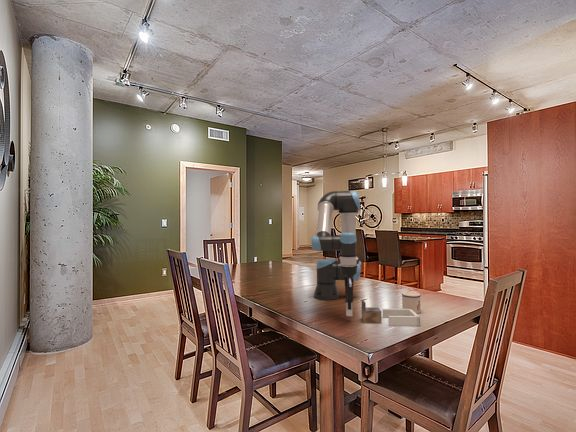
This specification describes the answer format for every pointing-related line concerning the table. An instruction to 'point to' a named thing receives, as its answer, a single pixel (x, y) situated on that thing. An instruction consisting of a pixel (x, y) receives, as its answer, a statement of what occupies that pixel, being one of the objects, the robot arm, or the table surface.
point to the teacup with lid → (411, 300)
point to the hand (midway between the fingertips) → (349, 315)
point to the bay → (401, 317)
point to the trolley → (370, 314)
